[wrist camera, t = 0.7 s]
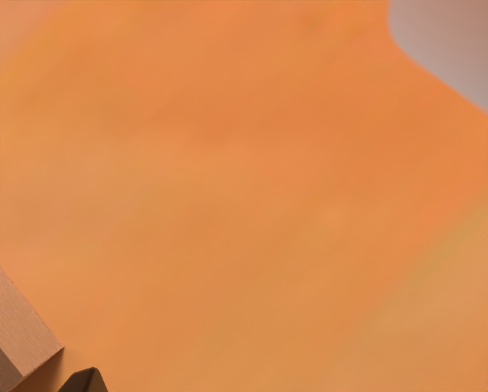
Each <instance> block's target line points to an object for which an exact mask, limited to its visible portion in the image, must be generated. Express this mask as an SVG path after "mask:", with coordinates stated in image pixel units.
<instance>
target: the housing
mask: <svg viewBox="0 0 488 392" xmlns="http://www.w3.org/2000/svg"><path fill="white" fill-rule="evenodd" d="M63 347H64V345H63V344H62V343H61V341H60V340H59V339H58V338H57V336H56V335H55V334H54V333H53V331H52V330H51V329H50V328H49V326H48V325H47V324H46V323H45V322H44V320H43V319H42V318H41V317H40V315H39V314H38V313H37V312H36V310H35V309H34V308H33V307H32V305H31V304H30V303H29V302H28V301H27V299H26V298H25V297H24V296H23V294H22V293H21V292H20V291H19V289H18V288H17V287H16V286H15V285H14V283H13V282H12V281H11V280H10V278H9V277H8V276H7V275H6V273H5V272H4V271H3V270H2V268H1V267H0V392H10V391H11V390H12V389H14V388H15V387H16V386H17V385H18V384H20V383H21V382H22V381H23V380H25V379H26V378H27V377H28V376H29V375H31V374H32V373H33V372H34V371H35V370H37V369H38V368H39V367H40V366H41V365H43V364H44V363H45V362H46V361H47V360H49V359H50V358H51V357H52V356H53V355H55V354H56V353H57V352H58V351H60V350H61V349H62V348H63Z"/></svg>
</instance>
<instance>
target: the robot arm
mask: <svg viewBox="0 0 488 392" xmlns="http://www.w3.org/2000/svg"><path fill="white" fill-rule="evenodd" d="M58 392H108V391H107V388H106V386H105V383H104V381H103V379H102V376H101V374H100V372H99V370H98V369H97V368H95V367H91V368H88V369H85V370H81V371H78V372H75V373H73V374H72V375H71V376H70V377H69V379H68V380H67V381H66V382H65V383H64V385H63V386H62V387H61V388H60V389H59V391H58Z"/></svg>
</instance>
